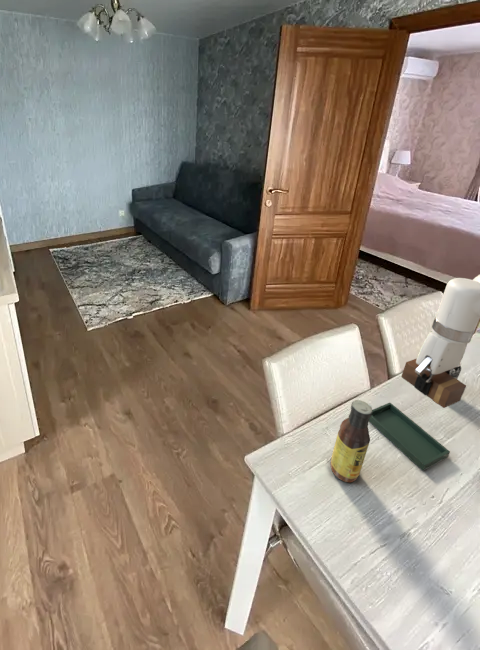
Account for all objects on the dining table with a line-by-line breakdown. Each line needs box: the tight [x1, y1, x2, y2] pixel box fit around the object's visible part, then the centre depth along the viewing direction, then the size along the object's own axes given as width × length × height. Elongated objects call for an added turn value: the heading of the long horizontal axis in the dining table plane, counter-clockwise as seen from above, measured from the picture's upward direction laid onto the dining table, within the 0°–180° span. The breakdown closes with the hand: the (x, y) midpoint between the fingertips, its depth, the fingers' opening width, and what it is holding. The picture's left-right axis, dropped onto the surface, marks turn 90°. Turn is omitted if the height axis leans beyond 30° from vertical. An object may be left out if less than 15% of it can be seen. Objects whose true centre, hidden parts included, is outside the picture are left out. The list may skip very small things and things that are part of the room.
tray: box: [368, 402, 451, 472], centre depth 90 cm, size 16×9×2 cm, turn 22°
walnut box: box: [401, 358, 467, 409], centre depth 87 cm, size 11×6×5 cm, turn 22°
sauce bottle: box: [330, 399, 373, 483], centre depth 78 cm, size 6×6×20 cm
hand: (429, 386), depth 88 cm, fingers closed on walnut box, 6 cm apart
